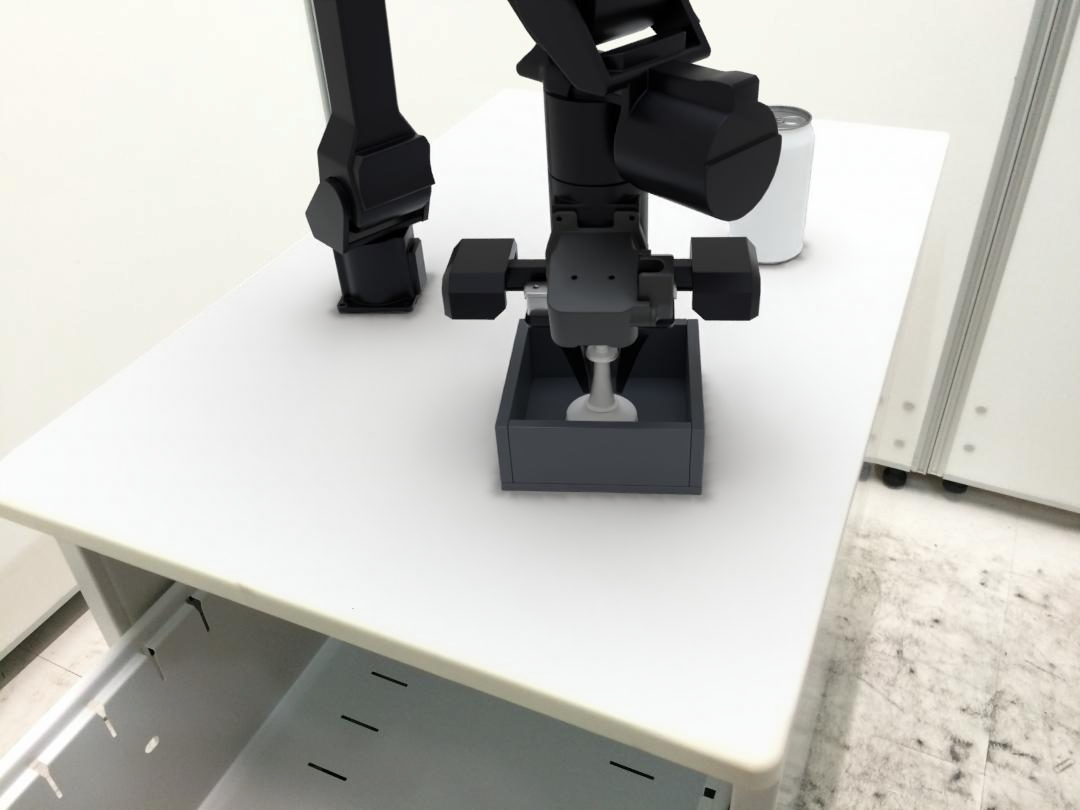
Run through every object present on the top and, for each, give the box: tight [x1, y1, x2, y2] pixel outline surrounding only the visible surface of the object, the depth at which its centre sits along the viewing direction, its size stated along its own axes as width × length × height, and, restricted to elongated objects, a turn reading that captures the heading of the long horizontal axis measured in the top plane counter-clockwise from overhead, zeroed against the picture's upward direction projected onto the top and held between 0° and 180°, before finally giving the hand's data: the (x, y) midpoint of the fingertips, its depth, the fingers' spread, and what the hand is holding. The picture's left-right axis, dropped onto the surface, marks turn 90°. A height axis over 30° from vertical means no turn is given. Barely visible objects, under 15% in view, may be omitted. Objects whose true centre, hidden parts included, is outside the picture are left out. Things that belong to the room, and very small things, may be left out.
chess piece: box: [565, 345, 638, 422], centre depth 61 cm, size 5×5×10 cm
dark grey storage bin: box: [494, 318, 706, 495], centre depth 63 cm, size 13×13×5 cm
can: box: [728, 104, 816, 265], centre depth 80 cm, size 6×6×12 cm
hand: (602, 390), depth 62 cm, fingers closed on chess piece, 2 cm apart
